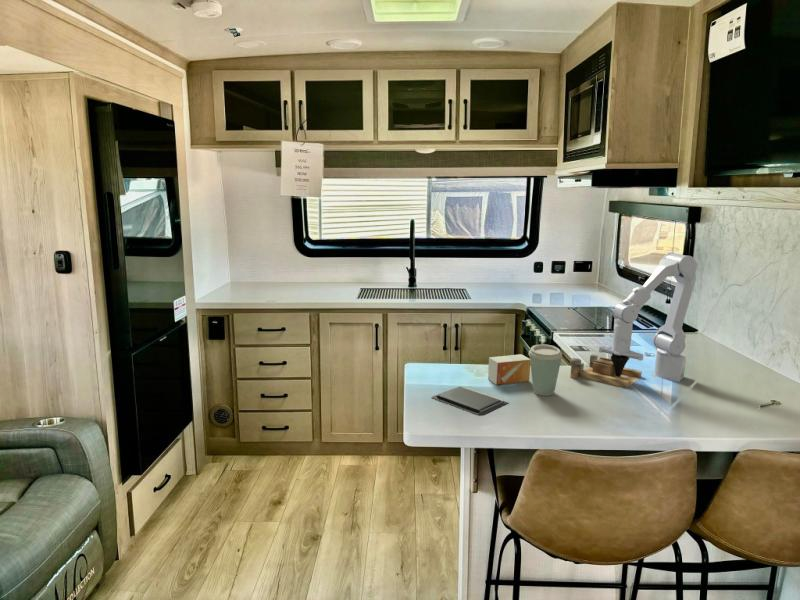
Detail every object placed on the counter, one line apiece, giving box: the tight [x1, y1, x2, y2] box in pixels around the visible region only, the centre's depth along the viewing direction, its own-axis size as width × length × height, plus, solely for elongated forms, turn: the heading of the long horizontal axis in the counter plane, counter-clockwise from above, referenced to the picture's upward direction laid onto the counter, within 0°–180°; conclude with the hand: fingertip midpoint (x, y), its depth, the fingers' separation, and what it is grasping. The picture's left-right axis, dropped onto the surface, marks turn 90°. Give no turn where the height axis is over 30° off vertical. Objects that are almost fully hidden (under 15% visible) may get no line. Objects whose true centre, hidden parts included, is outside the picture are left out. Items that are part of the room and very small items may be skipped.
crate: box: [592, 356, 616, 377], centre depth 203 cm, size 6×8×5 cm
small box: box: [487, 353, 531, 386], centre depth 197 cm, size 8×6×13 cm
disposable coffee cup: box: [528, 343, 563, 397], centre depth 186 cm, size 11×11×15 cm
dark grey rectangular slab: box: [431, 386, 510, 417], centre depth 179 cm, size 20×2×15 cm
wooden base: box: [569, 354, 642, 389], centre depth 201 cm, size 19×19×7 cm
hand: (618, 375), depth 200 cm, fingers closed
